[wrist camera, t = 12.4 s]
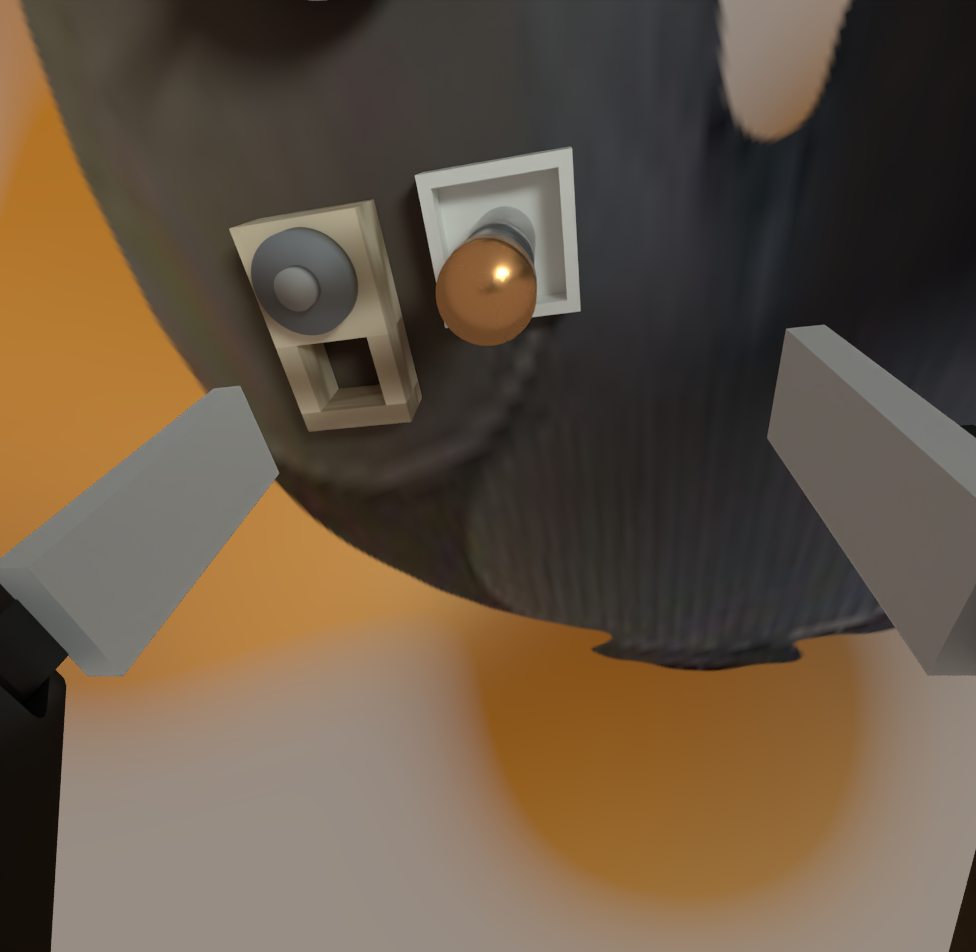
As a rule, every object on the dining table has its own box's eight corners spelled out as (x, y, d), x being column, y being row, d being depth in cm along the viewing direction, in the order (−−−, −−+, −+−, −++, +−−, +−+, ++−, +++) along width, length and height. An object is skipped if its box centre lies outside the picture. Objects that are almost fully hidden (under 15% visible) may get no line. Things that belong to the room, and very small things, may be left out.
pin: (465, 208, 32) (425, 250, 22) (535, 197, 32) (530, 234, 21) (476, 280, 35) (446, 351, 24) (542, 271, 34) (541, 340, 23)
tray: (423, 172, 32) (414, 175, 30) (570, 146, 30) (571, 147, 28) (450, 316, 37) (445, 328, 35) (578, 300, 35) (580, 311, 33)
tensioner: (259, 218, 34) (205, 236, 29) (373, 199, 33) (340, 214, 28) (327, 407, 42) (294, 449, 36) (422, 397, 41) (403, 440, 35)
